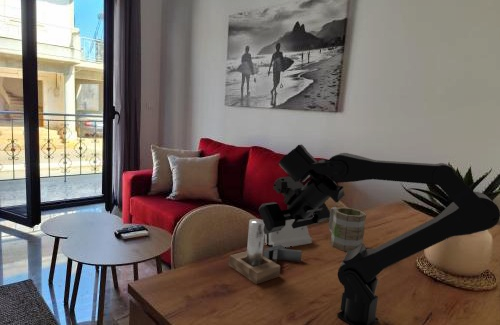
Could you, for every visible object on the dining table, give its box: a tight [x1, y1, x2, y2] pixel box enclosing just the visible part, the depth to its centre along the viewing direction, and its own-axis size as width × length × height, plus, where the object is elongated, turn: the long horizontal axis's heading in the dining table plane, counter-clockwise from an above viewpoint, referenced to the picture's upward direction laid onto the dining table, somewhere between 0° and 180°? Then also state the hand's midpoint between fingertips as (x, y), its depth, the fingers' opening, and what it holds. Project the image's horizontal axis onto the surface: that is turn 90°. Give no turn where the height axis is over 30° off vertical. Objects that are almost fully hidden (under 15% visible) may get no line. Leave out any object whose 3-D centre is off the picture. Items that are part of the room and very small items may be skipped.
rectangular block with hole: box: [228, 250, 281, 285], centre depth 91 cm, size 12×8×3 cm, turn 38°
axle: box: [246, 218, 265, 267], centre depth 91 cm, size 4×4×14 cm
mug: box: [328, 206, 367, 252], centre depth 117 cm, size 16×11×12 cm
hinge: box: [264, 220, 313, 248], centre depth 114 cm, size 17×5×10 cm, turn 121°
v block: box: [263, 245, 303, 264], centre depth 99 cm, size 7×12×3 cm, turn 128°
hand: (279, 229), depth 86 cm, fingers open, 9 cm apart
